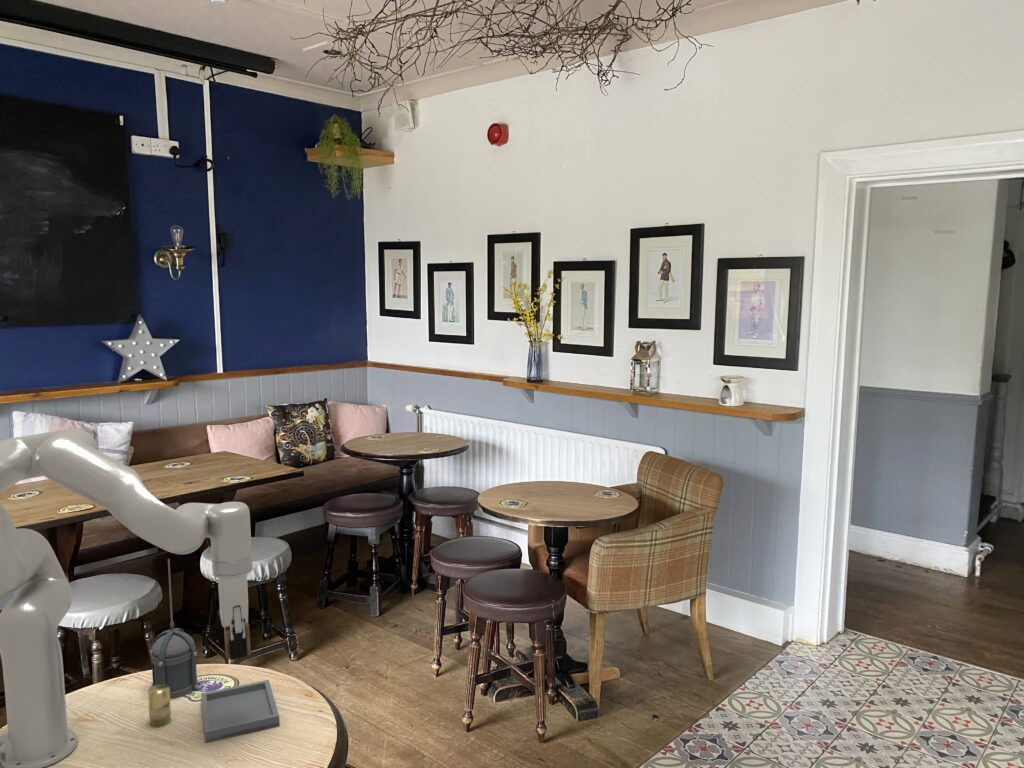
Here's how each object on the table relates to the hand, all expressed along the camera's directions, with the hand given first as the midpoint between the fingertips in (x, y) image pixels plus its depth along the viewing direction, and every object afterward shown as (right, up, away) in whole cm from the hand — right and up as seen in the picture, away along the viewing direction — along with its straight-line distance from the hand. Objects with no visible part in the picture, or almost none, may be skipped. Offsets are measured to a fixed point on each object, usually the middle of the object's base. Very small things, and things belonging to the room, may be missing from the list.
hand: (237, 650), depth 152 cm
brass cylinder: (-17, -16, +3) cm, 23 cm away
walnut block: (0, 0, 0) cm, 0 cm away
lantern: (-20, -14, +16) cm, 29 cm away
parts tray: (-2, -15, +6) cm, 16 cm away
